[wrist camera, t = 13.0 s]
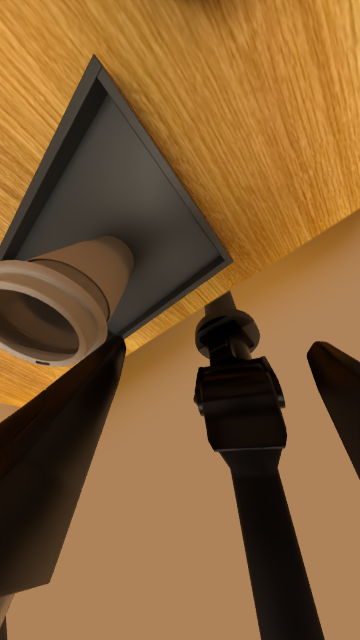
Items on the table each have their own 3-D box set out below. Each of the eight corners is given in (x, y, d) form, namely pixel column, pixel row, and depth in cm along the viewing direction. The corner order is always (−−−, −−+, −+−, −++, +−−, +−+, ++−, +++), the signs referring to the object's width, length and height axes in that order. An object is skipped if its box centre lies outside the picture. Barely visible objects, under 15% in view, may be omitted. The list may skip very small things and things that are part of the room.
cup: (82, 280, 21) (-14, 359, 11) (74, 215, 17) (-88, 253, 7) (143, 293, 21) (101, 380, 12) (148, 233, 17) (92, 291, 8)
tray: (229, 253, 18) (233, 261, 16) (117, 336, 27) (110, 349, 25) (110, 75, 12) (93, 52, 10) (11, 257, 20) (-10, 265, 18)
